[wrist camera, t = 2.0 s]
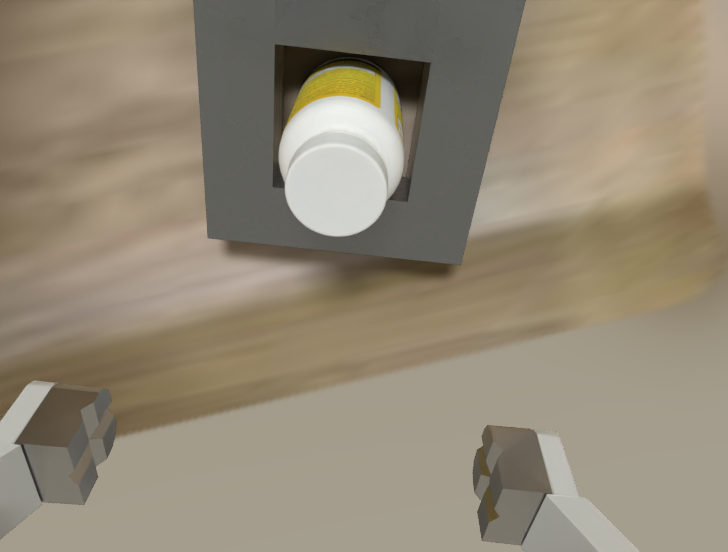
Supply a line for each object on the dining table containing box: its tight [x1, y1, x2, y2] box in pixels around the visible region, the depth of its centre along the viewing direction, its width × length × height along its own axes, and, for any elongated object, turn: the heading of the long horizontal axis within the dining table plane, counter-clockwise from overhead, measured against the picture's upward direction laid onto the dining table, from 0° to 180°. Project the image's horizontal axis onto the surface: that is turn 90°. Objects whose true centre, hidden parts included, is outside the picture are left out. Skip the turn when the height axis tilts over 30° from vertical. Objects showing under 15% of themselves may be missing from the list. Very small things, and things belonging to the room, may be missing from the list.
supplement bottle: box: [279, 57, 404, 237], centre depth 26 cm, size 5×5×10 cm
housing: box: [193, 0, 526, 265], centre depth 28 cm, size 14×14×3 cm
